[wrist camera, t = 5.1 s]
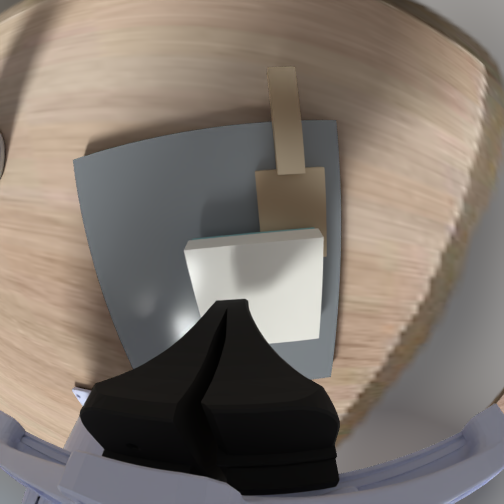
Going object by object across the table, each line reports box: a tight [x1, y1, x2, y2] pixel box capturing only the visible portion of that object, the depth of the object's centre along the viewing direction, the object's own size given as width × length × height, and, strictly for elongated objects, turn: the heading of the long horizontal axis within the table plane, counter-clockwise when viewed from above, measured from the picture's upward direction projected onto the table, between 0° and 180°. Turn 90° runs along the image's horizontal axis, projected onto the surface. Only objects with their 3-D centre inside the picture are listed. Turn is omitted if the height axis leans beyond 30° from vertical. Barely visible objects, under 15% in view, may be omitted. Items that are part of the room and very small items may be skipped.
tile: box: [184, 227, 324, 344], centre depth 13 cm, size 6×1×6 cm
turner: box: [255, 66, 327, 257], centre depth 12 cm, size 9×3×1 cm, turn 5°
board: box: [73, 120, 341, 380], centre depth 15 cm, size 16×14×1 cm
